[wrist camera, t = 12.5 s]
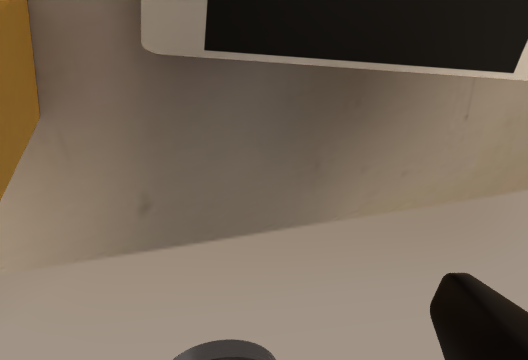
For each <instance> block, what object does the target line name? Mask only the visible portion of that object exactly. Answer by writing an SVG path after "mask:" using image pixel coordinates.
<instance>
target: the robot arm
mask: <svg viewBox="0 0 528 360" xmlns="http://www.w3.org/2000/svg"><path fill="white" fill-rule="evenodd" d="M430 315H431V319H432V322H433V325H434V328H435V331H436V334H437V337H438V340H439V342H440V346H441V349H442V352H443V355H444V358H445V360H528V312H527V311H525V310H523V309H522V308H521V307H519V306H517V305H516V304H514V303H513V302H511V301H510V300H508V299H507V298H505V297H504V296H502V295H501V294H499V293H498V292H496V291H495V290H493V289H491V288H490V287H489V286H487V285H485V284H484V283H482V282H481V281H479V280H478V279H476V278H474V277H473V276H472V275H470V274H467V273H448V274H446V275H445V276H444V277H443V278H442V280H441V283H440V284H439V287H438V289H437V291H436V293H435V296H434V297H433V300H432V302H431V305H430Z"/></svg>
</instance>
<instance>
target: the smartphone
mask: <svg viewBox="0 0 528 360" xmlns="http://www.w3.org/2000/svg"><path fill="white" fill-rule="evenodd" d="M141 44H142V46H143V48H145V49H146V50H147V51H150V52H152V53H156V54H162V55H175V56H189V57H203V58H217V59H231V60H245V61H259V62H273V63H287V64H301V65H315V66H329V67H343V68H357V69H371V70H385V71H399V72H414V73H428V74H442V75H456V76H470V77H484V78H498V79H512V80H526V81H528V0H141Z"/></svg>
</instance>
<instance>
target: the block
mask: <svg viewBox="0 0 528 360" xmlns="http://www.w3.org/2000/svg"><path fill="white" fill-rule="evenodd" d="M39 118H40V112H39V103H38V94H37V85H36V76H35V67H34V58H33V49H32V40H31V31H30V22H29V13H28V4H27V0H0V200H1V198H2V196H3V194H4V192H5V190H6V188H7V186H8V184H9V181H10V179H11V177H12V175H13V173H14V171H15V169H16V167H17V165H18V163H19V160H20V158H21V156H22V154H23V152H24V150H25V148H26V146H27V144H28V142H29V139H30V137H31V135H32V133H33V131H34V129H35V127H36V125H37V123H38V121H39Z"/></svg>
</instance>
